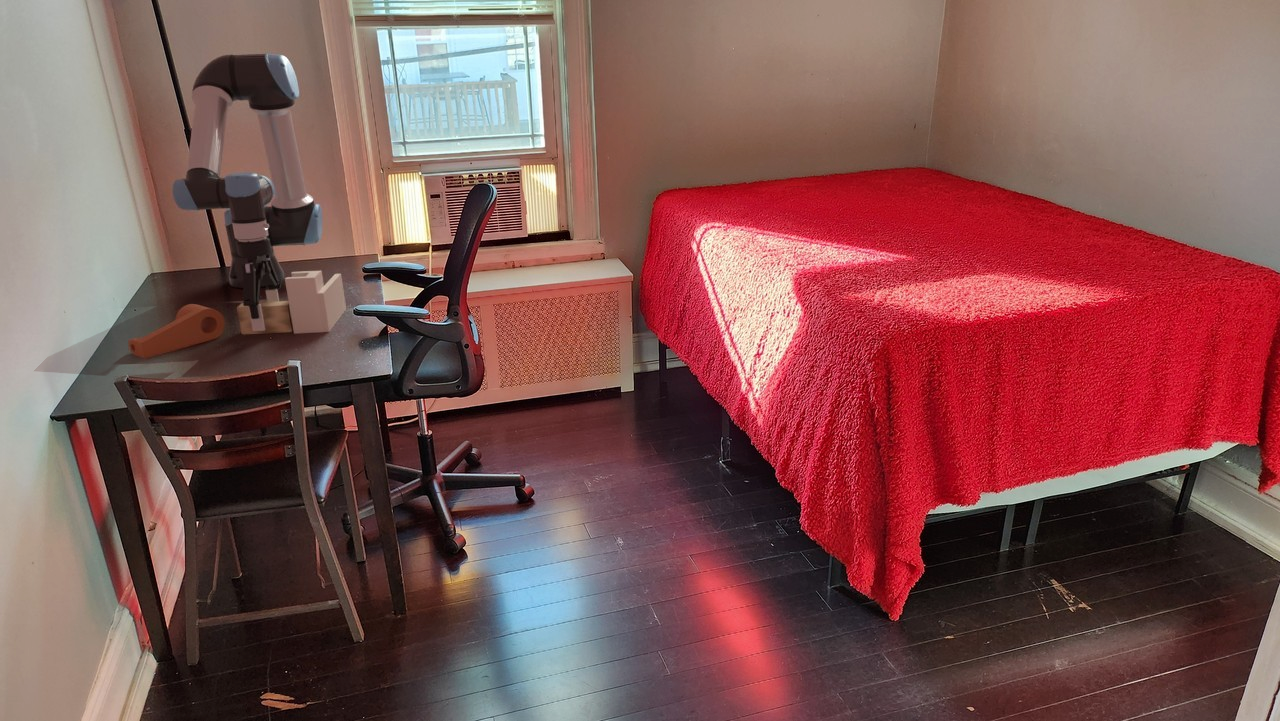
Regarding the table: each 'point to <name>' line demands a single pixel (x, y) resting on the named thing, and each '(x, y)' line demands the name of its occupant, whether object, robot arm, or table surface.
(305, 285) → the white notched block
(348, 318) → the table surface
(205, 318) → the crank
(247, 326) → the tan wooden block
